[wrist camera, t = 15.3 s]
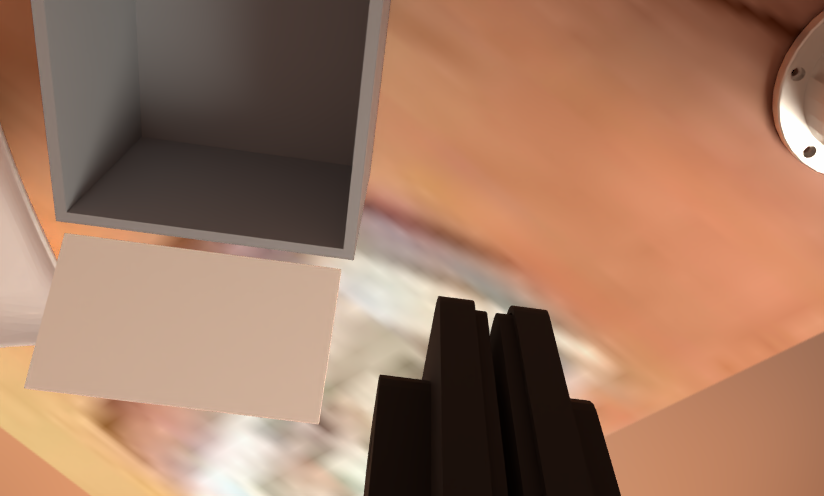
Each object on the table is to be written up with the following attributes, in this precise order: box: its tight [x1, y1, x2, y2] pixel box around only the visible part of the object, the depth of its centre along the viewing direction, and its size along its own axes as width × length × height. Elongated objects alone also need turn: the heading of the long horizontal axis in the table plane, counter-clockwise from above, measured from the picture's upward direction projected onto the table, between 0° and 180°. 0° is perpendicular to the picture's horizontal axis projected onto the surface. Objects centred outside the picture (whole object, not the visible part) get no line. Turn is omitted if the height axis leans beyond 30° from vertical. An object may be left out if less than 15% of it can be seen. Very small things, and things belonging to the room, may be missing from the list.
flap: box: [24, 233, 341, 424], centre depth 38 cm, size 15×8×1 cm
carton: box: [31, 0, 391, 260], centre depth 40 cm, size 16×18×12 cm
